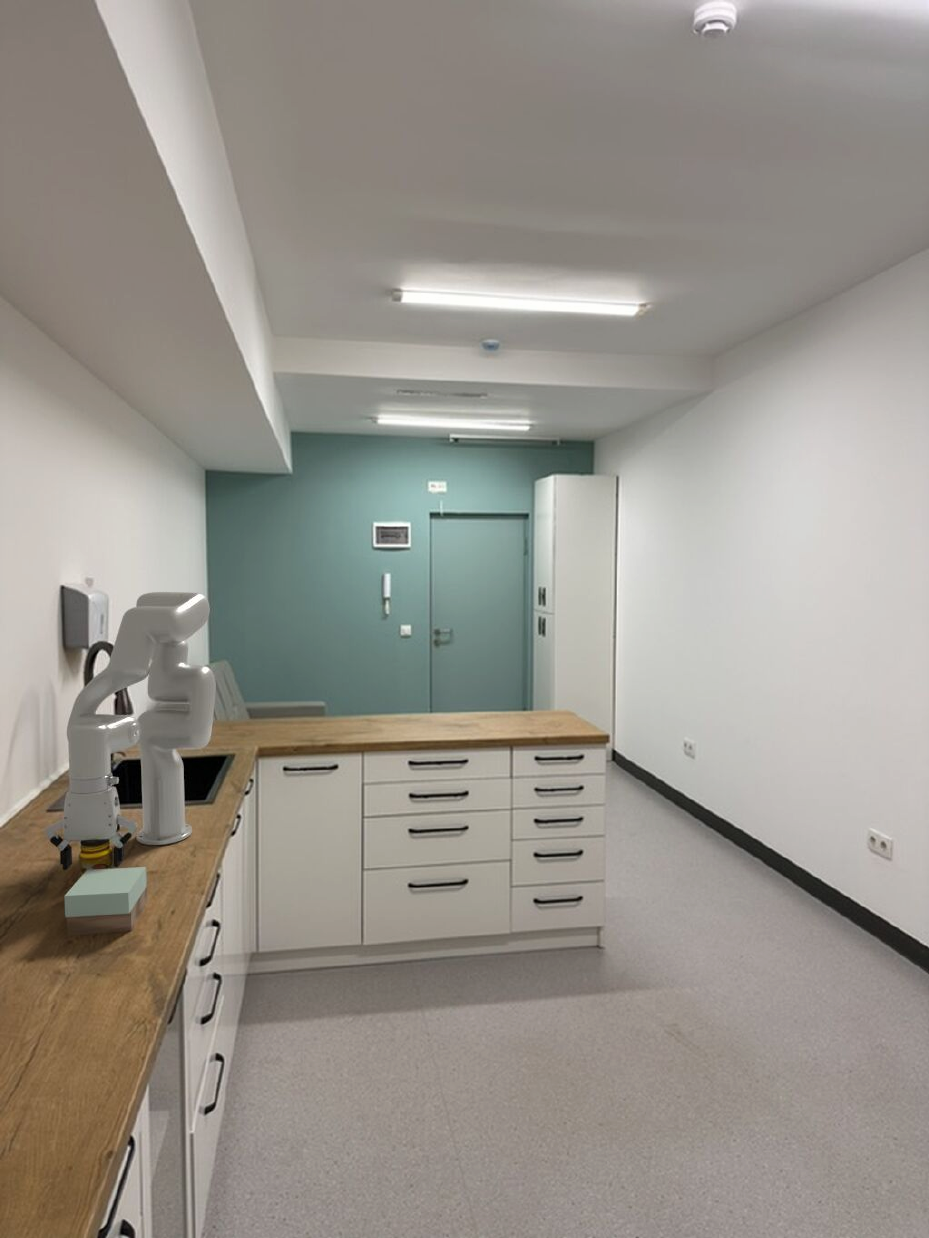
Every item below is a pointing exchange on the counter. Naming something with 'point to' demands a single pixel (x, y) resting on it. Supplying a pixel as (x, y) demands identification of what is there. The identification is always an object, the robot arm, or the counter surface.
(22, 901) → the counter surface
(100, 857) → the condiment
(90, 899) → the top block
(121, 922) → the bottom block
